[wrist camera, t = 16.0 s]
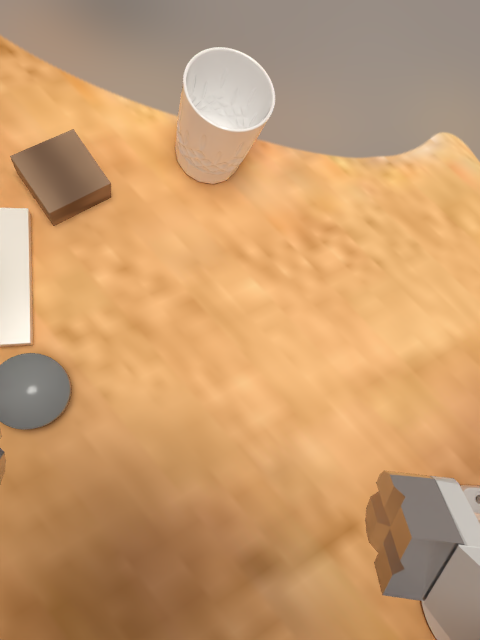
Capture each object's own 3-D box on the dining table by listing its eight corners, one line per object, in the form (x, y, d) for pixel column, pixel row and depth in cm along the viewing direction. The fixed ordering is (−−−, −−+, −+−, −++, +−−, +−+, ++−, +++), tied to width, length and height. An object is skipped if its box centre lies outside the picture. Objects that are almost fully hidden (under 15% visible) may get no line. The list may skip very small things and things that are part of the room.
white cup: (257, 169, 47) (292, 108, 38) (199, 202, 44) (221, 146, 35) (214, 109, 47) (239, 34, 38) (153, 140, 44) (163, 66, 35)
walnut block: (76, 148, 42) (73, 129, 40) (111, 198, 42) (110, 183, 40) (17, 174, 40) (10, 156, 38) (54, 227, 40) (49, 213, 38)
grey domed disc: (70, 354, 38) (67, 350, 36) (73, 423, 37) (70, 424, 35) (-6, 359, 37) (-14, 356, 35) (-5, 432, 36) (-14, 433, 33)
